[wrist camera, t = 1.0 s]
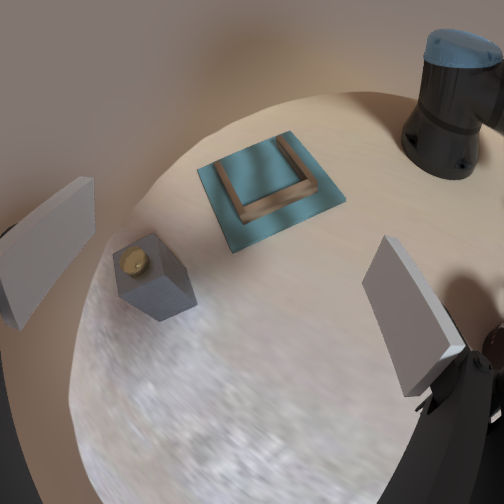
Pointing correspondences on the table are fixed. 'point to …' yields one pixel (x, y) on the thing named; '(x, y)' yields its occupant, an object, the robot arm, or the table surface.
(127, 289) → the grey block with knob
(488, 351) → the coffee mug
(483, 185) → the table surface
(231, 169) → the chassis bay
